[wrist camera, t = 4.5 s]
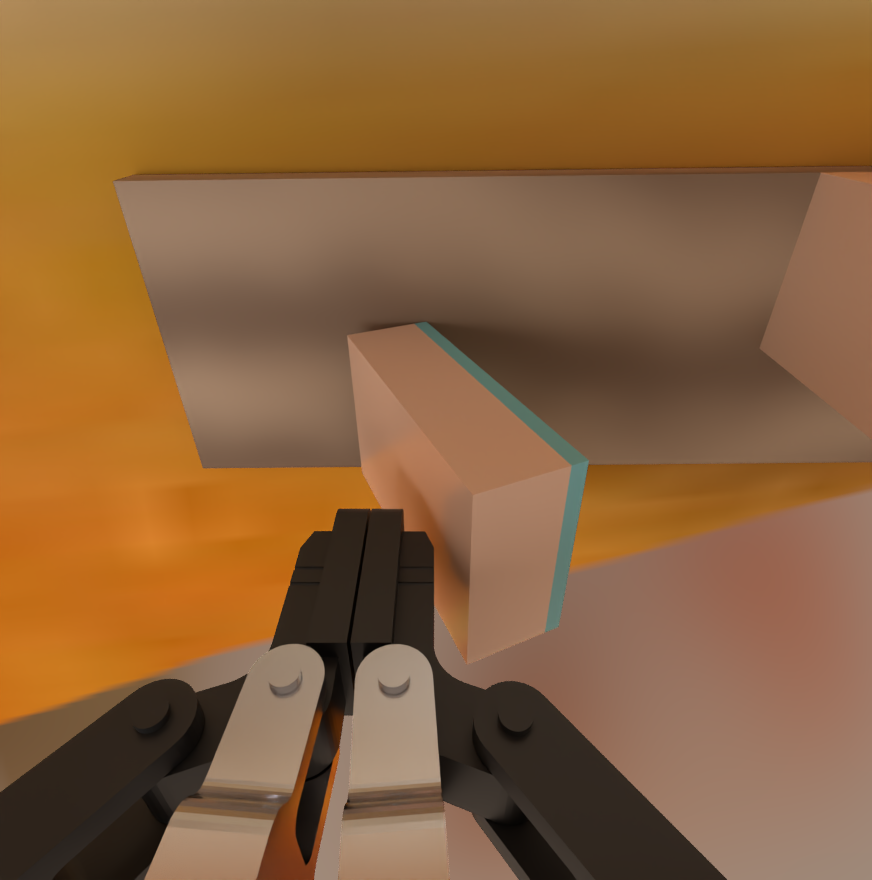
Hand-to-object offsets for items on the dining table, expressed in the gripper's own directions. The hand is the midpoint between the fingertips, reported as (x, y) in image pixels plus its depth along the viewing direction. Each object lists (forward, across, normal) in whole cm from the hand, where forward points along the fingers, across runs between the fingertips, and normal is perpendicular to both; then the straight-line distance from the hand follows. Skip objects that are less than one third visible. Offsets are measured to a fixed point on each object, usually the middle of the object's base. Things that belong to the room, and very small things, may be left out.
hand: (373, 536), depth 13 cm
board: (+8, -7, -2) cm, 10 cm away
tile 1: (+6, 0, 0) cm, 6 cm away
